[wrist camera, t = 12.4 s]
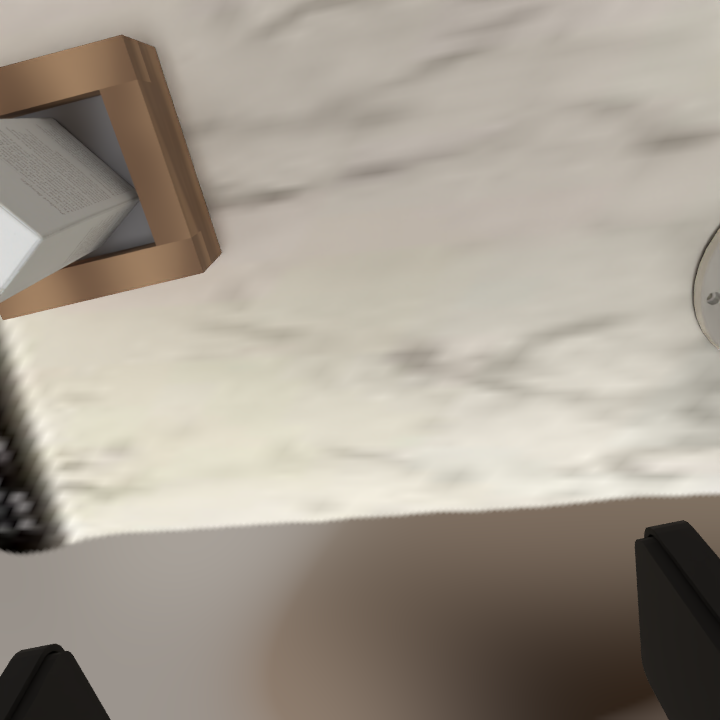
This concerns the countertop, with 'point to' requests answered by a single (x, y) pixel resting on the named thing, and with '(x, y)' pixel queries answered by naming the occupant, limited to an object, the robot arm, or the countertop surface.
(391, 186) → the countertop surface
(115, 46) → the brown wooden square frame
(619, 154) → the countertop surface
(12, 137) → the skincare box
